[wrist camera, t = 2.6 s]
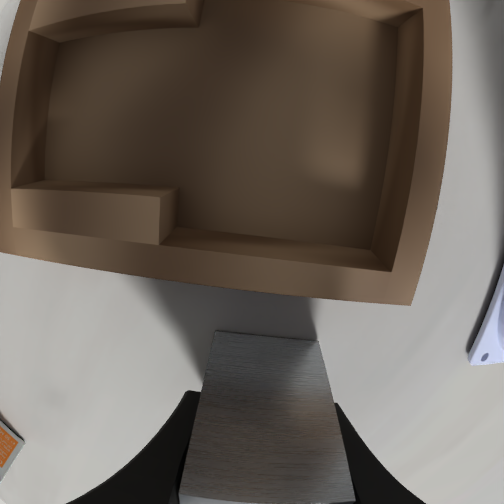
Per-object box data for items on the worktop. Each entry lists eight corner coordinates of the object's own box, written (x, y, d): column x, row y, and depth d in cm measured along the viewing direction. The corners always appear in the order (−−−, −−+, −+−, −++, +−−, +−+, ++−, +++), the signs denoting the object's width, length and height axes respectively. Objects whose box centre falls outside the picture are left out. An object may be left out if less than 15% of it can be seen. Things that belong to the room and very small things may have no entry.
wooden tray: (417, 17, 8) (448, -4, 5) (384, 275, 11) (410, 305, 9) (58, 1, 8) (26, -16, 5) (35, 233, 11) (-1, 251, 9)
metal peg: (318, 340, 12) (355, 500, 5) (298, 409, 13) (311, 546, 6) (215, 330, 12) (178, 494, 5) (211, 401, 13) (186, 539, 6)
